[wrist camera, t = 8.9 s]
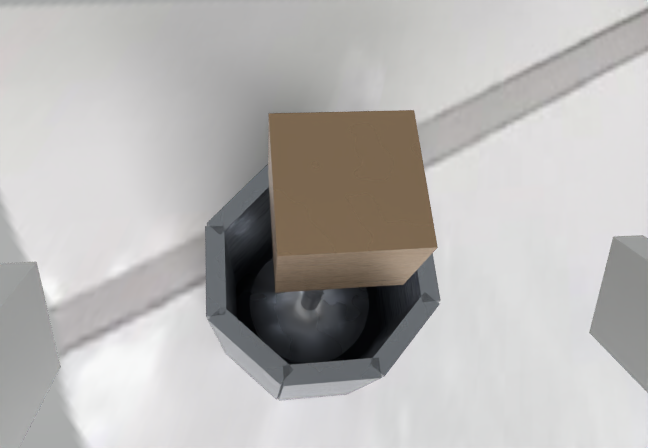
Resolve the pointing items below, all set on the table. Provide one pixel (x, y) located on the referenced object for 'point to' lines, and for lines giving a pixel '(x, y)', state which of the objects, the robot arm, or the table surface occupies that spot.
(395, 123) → the plunger
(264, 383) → the octagonal metal cup
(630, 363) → the robot arm
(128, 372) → the table surface
